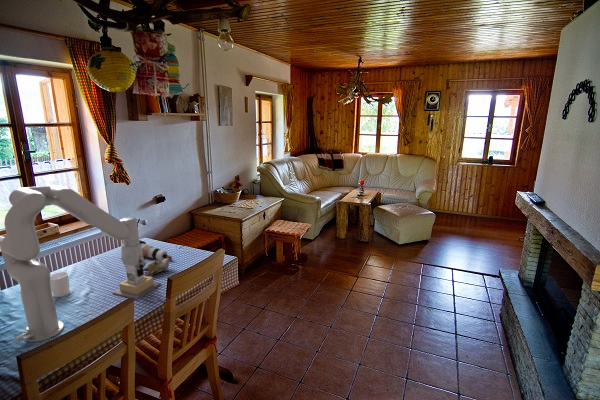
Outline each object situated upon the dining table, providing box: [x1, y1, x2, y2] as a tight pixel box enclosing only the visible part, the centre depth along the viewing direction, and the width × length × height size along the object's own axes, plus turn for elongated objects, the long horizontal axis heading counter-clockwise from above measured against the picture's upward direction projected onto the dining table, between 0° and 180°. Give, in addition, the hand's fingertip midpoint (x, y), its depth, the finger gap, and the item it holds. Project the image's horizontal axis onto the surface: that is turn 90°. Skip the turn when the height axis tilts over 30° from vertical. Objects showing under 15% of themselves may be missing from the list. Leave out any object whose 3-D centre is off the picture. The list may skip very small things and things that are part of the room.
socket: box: [111, 276, 162, 301], centre depth 167 cm, size 16×16×5 cm
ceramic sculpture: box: [143, 258, 170, 277], centre depth 185 cm, size 11×9×15 cm
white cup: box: [50, 271, 71, 298], centre depth 162 cm, size 8×8×10 cm
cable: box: [139, 239, 173, 261], centre depth 205 cm, size 10×34×10 cm, turn 70°
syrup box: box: [124, 262, 145, 285], centre depth 166 cm, size 6×6×14 cm
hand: (135, 274), depth 166 cm, fingers open, 6 cm apart
